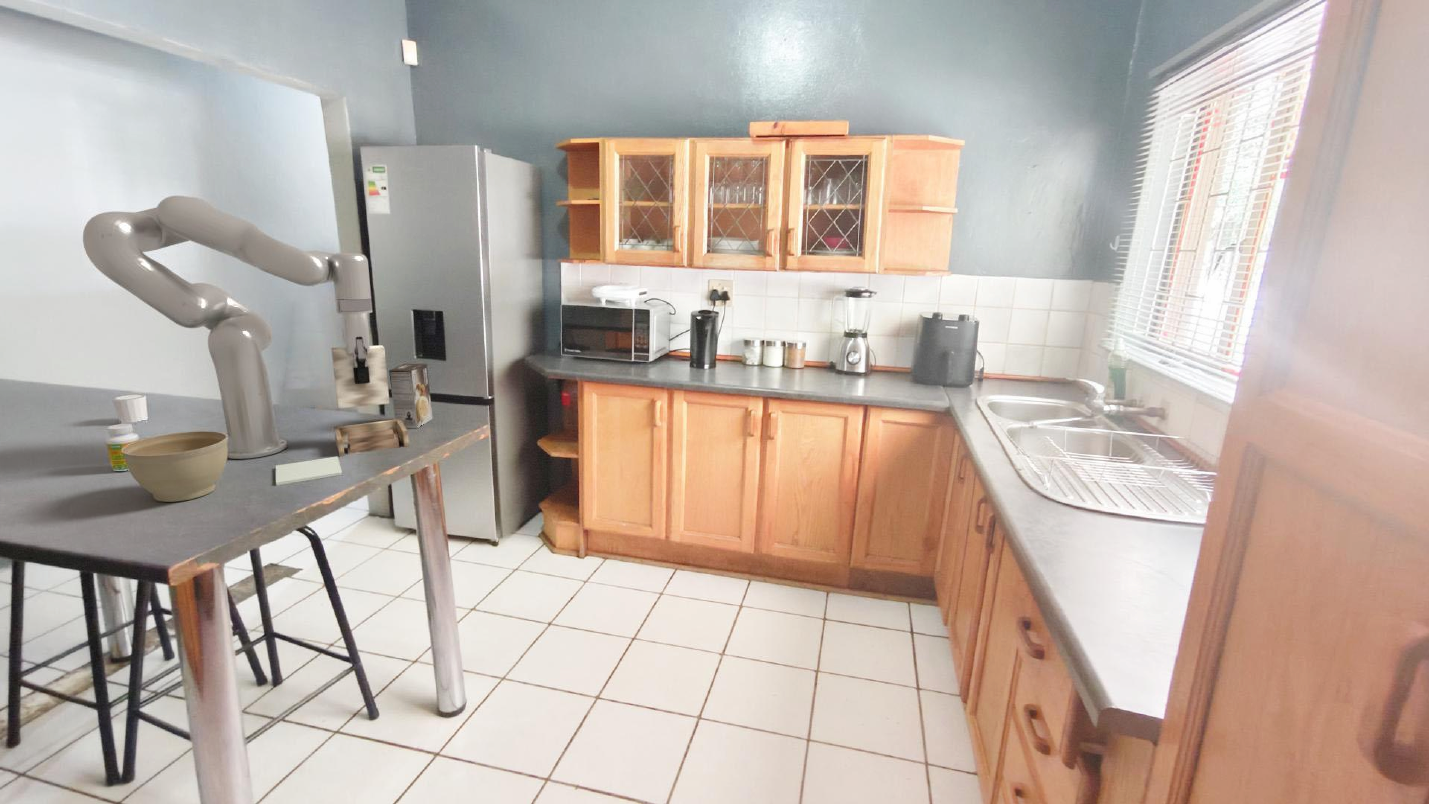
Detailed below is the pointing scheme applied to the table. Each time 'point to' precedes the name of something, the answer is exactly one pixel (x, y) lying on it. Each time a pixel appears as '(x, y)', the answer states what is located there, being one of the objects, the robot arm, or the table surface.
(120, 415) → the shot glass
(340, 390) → the birch sheet
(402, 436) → the pine rack
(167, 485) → the planter bowl
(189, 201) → the robot arm
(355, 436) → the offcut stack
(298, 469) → the sage board
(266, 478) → the table surface
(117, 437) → the supplement bottle
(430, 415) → the coffee box
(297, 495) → the table surface
